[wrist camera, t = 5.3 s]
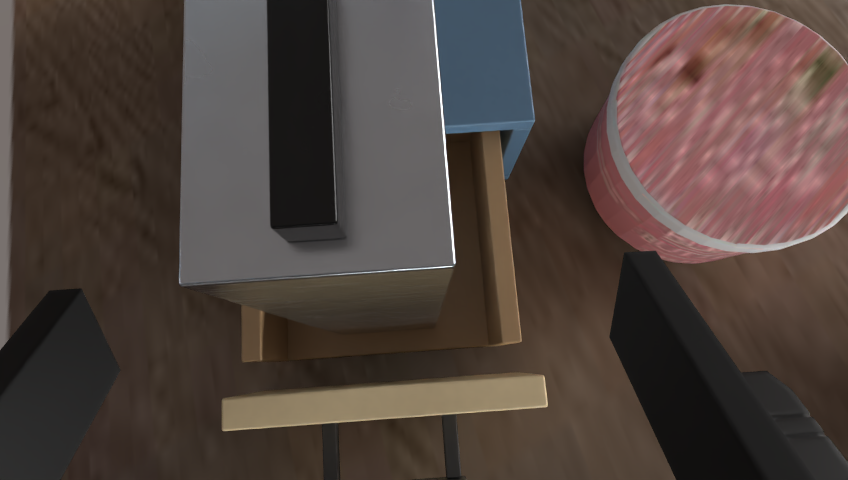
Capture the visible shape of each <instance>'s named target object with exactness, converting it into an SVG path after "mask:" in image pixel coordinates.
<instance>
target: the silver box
mask: <svg viewBox="0 0 848 480" xmlns="http://www.w3.org/2000/svg"><path fill="white" fill-rule="evenodd" d="M455 266H456V252H455V240H454V228H453V216H452V204H451V192H450V180H449V169H448V157H447V145H446V133H445V121H444V109H443V97H442V85H441V74H440V62H439V50H438V38H437V26H436V14H435V2H434V0H184V38H183V90H182V142H181V194H180V247H179V285H180V286H182V287H185V288H188V289H191V290H194V291H198V292H201V293H204V294H208V295H211V296H214V297H218V298H221V299H224V300H227V301H231V302H234V303H237V304H241V305H244V306H247V307H250V308H254V309H257V310H260V311H264V312H267V313H270V314H274V315H277V316H280V317H283V318H287V319H290V320H293V321H297V322H300V323H303V324H306V325H310V326H313V327H316V328H320V329H323V330H326V331H330V332H333V333H336V334H339V335H350V334H364V333H378V332H392V331H406V330H420V329H434V328H435V326H436V323H437V320H438V317H439V314H440V311H441V308H442V305H443V302H444V299H445V296H446V293H447V290H448V287H449V284H450V281H451V278H452V275H453V272H454V269H455Z"/></svg>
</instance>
